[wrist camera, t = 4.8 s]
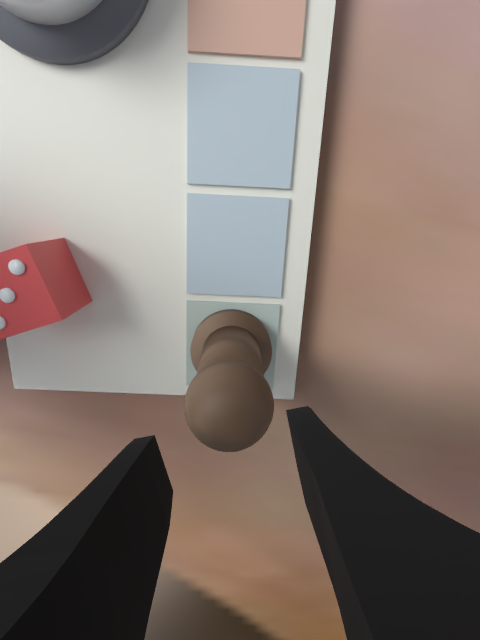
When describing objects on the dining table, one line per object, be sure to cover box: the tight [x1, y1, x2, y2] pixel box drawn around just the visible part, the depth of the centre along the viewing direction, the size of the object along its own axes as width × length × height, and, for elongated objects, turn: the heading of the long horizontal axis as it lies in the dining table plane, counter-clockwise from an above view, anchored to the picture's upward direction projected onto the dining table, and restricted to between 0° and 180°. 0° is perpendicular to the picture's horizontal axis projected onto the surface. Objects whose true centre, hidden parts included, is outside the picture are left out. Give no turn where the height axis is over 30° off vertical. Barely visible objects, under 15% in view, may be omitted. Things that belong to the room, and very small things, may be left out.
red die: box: [0, 238, 93, 340], centre depth 16 cm, size 3×3×3 cm
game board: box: [0, 0, 336, 400], centre depth 15 cm, size 15×26×2 cm, turn 177°
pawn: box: [184, 309, 274, 452], centre depth 15 cm, size 4×4×7 cm
